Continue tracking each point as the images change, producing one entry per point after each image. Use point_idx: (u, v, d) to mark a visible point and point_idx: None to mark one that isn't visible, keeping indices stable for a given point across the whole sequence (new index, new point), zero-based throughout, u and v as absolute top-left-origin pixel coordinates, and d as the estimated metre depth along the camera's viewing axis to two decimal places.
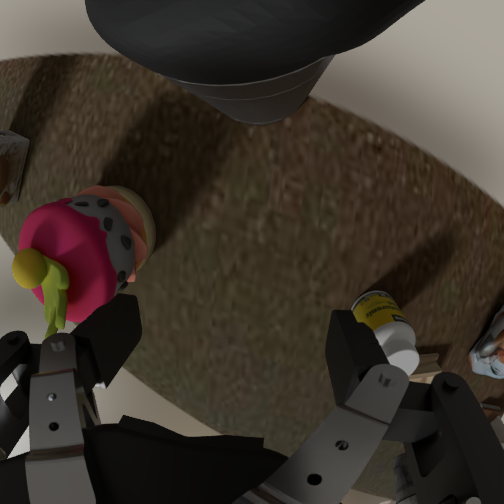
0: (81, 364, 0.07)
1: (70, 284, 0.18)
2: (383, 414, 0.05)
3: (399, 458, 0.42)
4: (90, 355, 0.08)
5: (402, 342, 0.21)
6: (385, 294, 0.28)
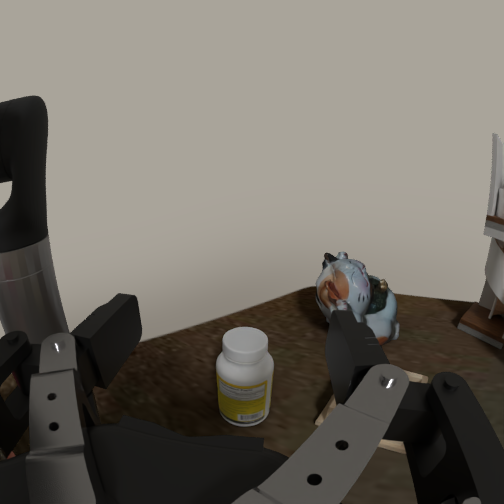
0: (81, 364, 0.07)
1: None
2: (383, 414, 0.05)
3: None
4: (90, 355, 0.08)
5: None
6: None
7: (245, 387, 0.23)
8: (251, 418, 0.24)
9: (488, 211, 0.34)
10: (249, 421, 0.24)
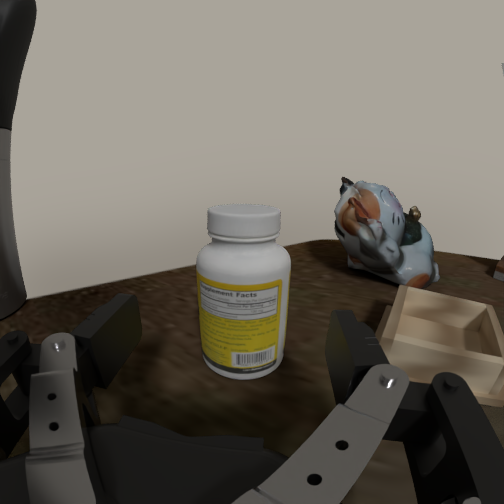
0: (81, 364, 0.07)
1: None
2: (383, 414, 0.05)
3: None
4: (90, 355, 0.08)
5: None
6: None
7: (245, 287, 0.14)
8: (254, 362, 0.15)
9: None
10: (251, 368, 0.16)
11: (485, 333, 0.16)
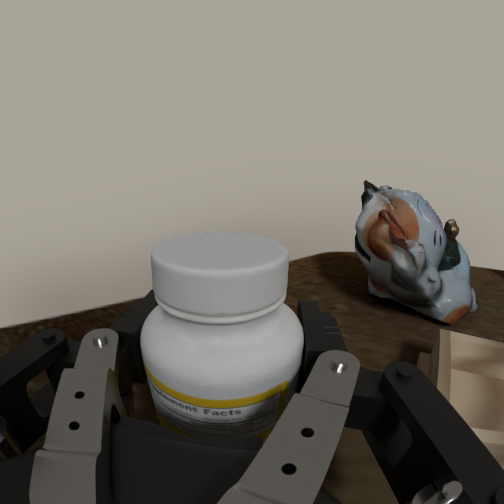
0: (124, 360, 0.08)
1: None
2: (325, 396, 0.06)
3: None
4: (132, 350, 0.08)
5: None
6: None
7: (218, 403, 0.07)
8: None
9: None
10: None
11: None
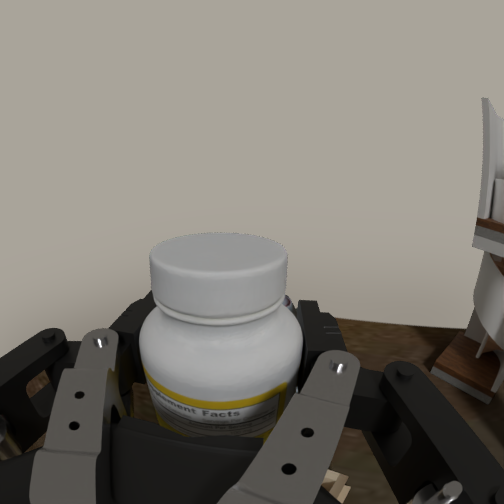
0: (124, 359, 0.08)
1: None
2: (325, 396, 0.06)
3: None
4: (132, 350, 0.08)
5: None
6: None
7: (217, 405, 0.07)
8: None
9: (479, 212, 0.23)
10: None
11: None
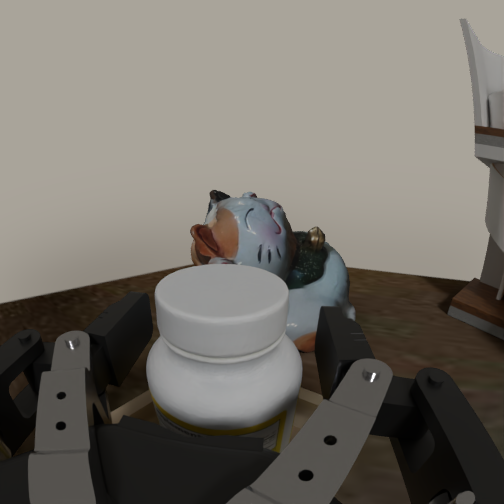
0: (96, 362, 0.07)
1: None
2: (363, 407, 0.05)
3: None
4: (104, 353, 0.08)
5: None
6: None
7: (222, 432, 0.07)
8: None
9: (476, 120, 0.20)
10: None
11: None
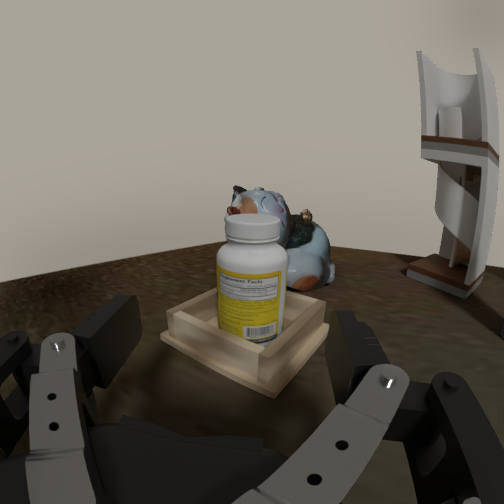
0: (81, 364, 0.07)
1: None
2: (383, 414, 0.05)
3: None
4: (90, 355, 0.08)
5: None
6: None
7: (254, 276, 0.19)
8: (260, 335, 0.21)
9: (422, 131, 0.32)
10: (258, 339, 0.21)
11: None
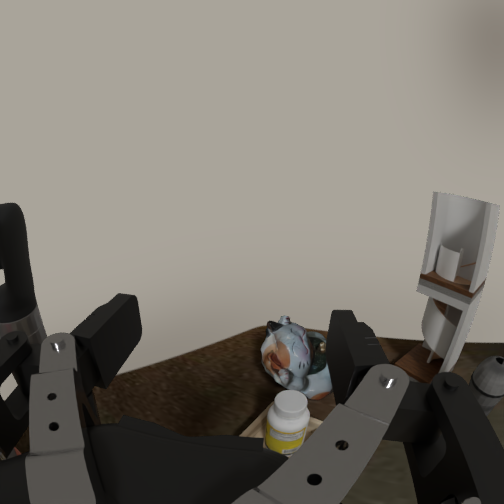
0: (81, 364, 0.07)
1: None
2: (383, 414, 0.05)
3: None
4: (90, 355, 0.08)
5: None
6: None
7: (291, 433, 0.29)
8: (291, 451, 0.30)
9: (422, 270, 0.42)
10: (290, 453, 0.31)
11: None
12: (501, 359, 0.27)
